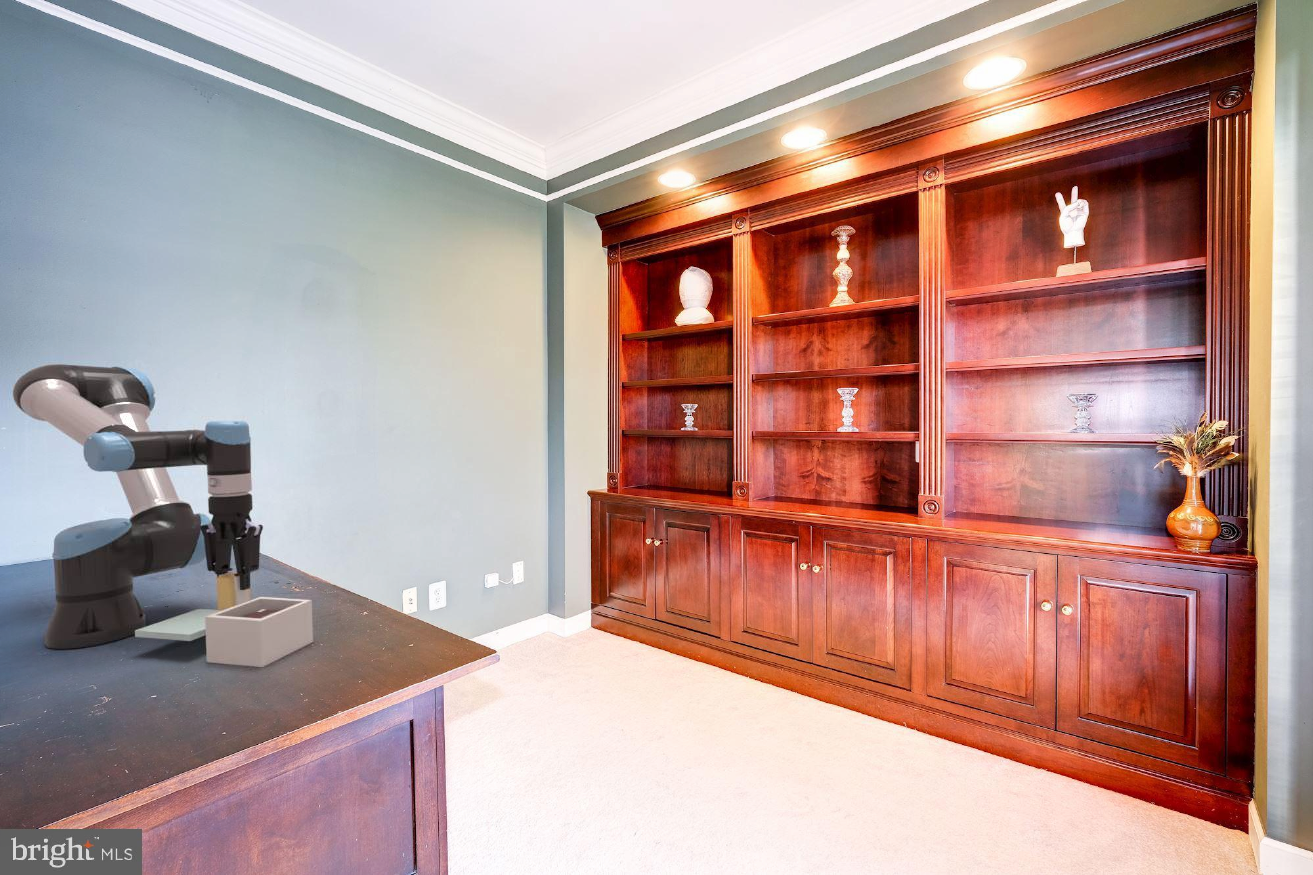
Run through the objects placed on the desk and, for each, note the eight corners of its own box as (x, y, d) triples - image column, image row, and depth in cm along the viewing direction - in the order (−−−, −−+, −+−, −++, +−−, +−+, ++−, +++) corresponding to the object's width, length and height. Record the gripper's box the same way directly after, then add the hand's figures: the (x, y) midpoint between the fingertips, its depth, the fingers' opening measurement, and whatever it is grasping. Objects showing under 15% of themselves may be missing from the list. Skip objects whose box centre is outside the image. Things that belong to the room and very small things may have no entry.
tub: (206, 662, 109) (205, 616, 108) (262, 637, 120) (260, 596, 120) (262, 667, 106) (260, 620, 106) (312, 641, 118) (311, 600, 118)
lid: (135, 636, 111) (133, 594, 111) (220, 606, 128) (219, 570, 128) (190, 641, 109) (188, 598, 108) (270, 609, 126) (268, 572, 126)
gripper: (181, 496, 122) (186, 608, 122) (247, 497, 118) (251, 612, 119) (214, 491, 129) (219, 597, 130) (277, 492, 126) (281, 600, 127)
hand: (234, 604), depth 125 cm, fingers closed on lid, 3 cm apart
